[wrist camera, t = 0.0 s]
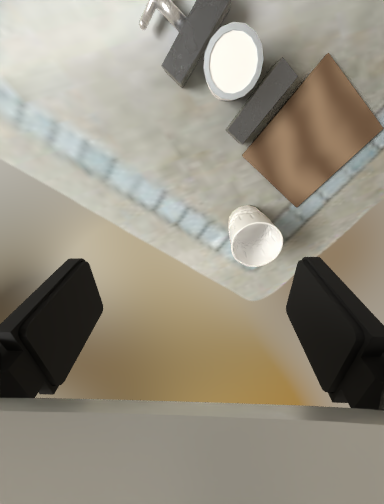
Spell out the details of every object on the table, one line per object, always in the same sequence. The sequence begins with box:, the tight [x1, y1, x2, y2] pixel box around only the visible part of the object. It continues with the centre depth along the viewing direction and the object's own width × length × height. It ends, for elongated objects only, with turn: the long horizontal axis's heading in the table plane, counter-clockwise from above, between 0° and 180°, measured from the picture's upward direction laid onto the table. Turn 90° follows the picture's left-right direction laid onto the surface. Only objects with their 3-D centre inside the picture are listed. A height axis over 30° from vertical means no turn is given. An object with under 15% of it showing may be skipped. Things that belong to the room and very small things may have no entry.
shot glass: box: [203, 22, 264, 101], centre depth 27 cm, size 7×7×7 cm
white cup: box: [228, 205, 283, 267], centre depth 37 cm, size 8×8×10 cm
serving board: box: [242, 53, 383, 207], centre depth 33 cm, size 16×14×1 cm
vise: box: [139, 0, 298, 144], centre depth 28 cm, size 10×20×4 cm, turn 52°
